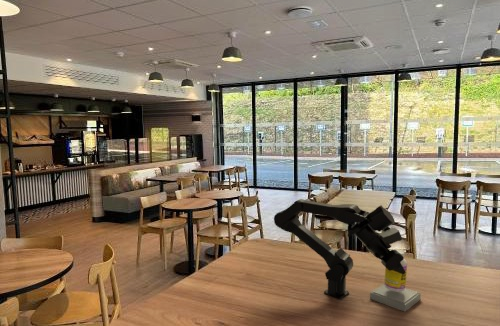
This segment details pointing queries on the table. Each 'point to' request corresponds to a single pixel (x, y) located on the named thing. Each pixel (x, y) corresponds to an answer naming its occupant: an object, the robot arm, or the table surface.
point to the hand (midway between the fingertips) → (399, 269)
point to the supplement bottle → (396, 276)
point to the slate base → (395, 297)
